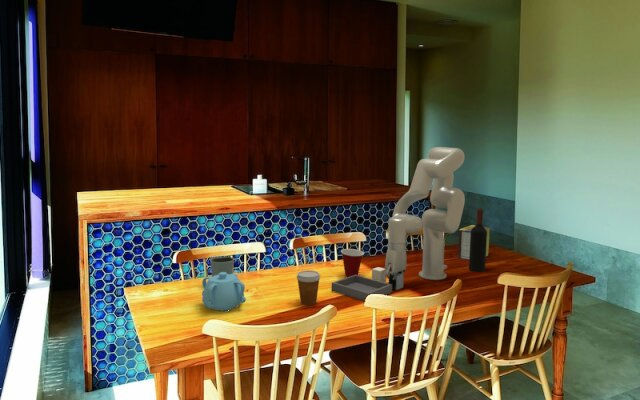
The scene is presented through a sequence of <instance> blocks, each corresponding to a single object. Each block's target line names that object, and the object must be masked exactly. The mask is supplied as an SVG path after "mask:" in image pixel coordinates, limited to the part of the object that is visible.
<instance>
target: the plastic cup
mask: <svg viewBox="0 0 640 400" xmlns="http://www.w3.org/2000/svg"><path fill="white" fill-rule="evenodd" d="M340 253H341V255H342V256H341V257H342V261H343V269H344V275H345V278H347V277H350V276H353V275H359V274H360V273H359V272H360V268H361V263H362V259H363V256H364V255H365V252H363V250H360V249H355V248H345V249H341V250H340Z"/></svg>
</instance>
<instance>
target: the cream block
mask: <svg viewBox="0 0 640 400" xmlns="http://www.w3.org/2000/svg"><path fill="white" fill-rule="evenodd" d="M385 273H386V271H385V267H384V268H383V267H378V266H377V267H375V268H372V269H371V279H374V280H377V281H381V282H385V283H387V275H386V274H385Z"/></svg>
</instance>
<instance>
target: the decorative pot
mask: <svg viewBox="0 0 640 400" xmlns="http://www.w3.org/2000/svg"><path fill="white" fill-rule="evenodd" d="M201 284H202V287H203V291H202V292H201V295H202V299H201V302H202V303H203V305H204V306H205V307H206V308H208V309H209V308H210V310H216V311H222V312H225V311H226V312H229V311H230V310H232V309H234V308H237V307H238V306H240V305H241V304H244V303H245V302H246V301H247V298H246V296H245V289H246V288H245V284H244V283H243V282H242V281H241V280H240V279H239V277H238V275H237V274H236V273H233V274H227V273H226V272H221V273H219V275H215V276H213V277H212V276H206V277H204V278H203V279H202V283H201ZM228 310H229V311H228Z"/></svg>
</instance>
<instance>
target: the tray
mask: <svg viewBox="0 0 640 400" xmlns="http://www.w3.org/2000/svg"><path fill="white" fill-rule="evenodd" d="M331 291H332V292H335V293H338V294H340V295H344V296H347V297H351V298H353V299H356V300H360V301H363V302H366V301H365V299H366V297H367V296H368V295H370V294H384V295H385V296H387V294H388V295H389V294H392V293H393V289H392V284H389V282H381V281H377V280H374V279H372V278H369V277H365V276H362V275H360V274H358V275H353V276H350V277H345V278H341V279H338V280H336V281H332V282H331Z"/></svg>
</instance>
